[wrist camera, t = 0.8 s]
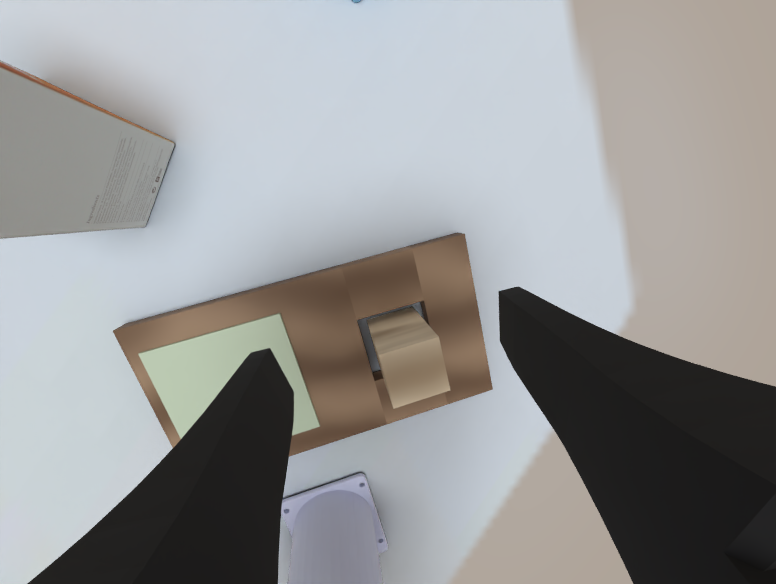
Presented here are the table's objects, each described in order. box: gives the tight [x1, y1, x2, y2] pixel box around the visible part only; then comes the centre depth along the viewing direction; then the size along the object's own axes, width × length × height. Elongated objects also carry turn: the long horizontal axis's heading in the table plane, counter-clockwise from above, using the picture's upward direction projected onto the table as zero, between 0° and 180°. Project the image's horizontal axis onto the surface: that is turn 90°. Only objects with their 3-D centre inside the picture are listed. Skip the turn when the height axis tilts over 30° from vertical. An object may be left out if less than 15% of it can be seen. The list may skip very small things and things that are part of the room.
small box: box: [0, 61, 175, 239], centre depth 15 cm, size 8×6×13 cm
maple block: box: [367, 307, 450, 409], centre depth 25 cm, size 4×4×7 cm
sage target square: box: [138, 313, 320, 439], centre depth 25 cm, size 10×10×1 cm
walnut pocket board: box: [113, 233, 493, 456], centre depth 27 cm, size 14×26×2 cm, turn 104°
